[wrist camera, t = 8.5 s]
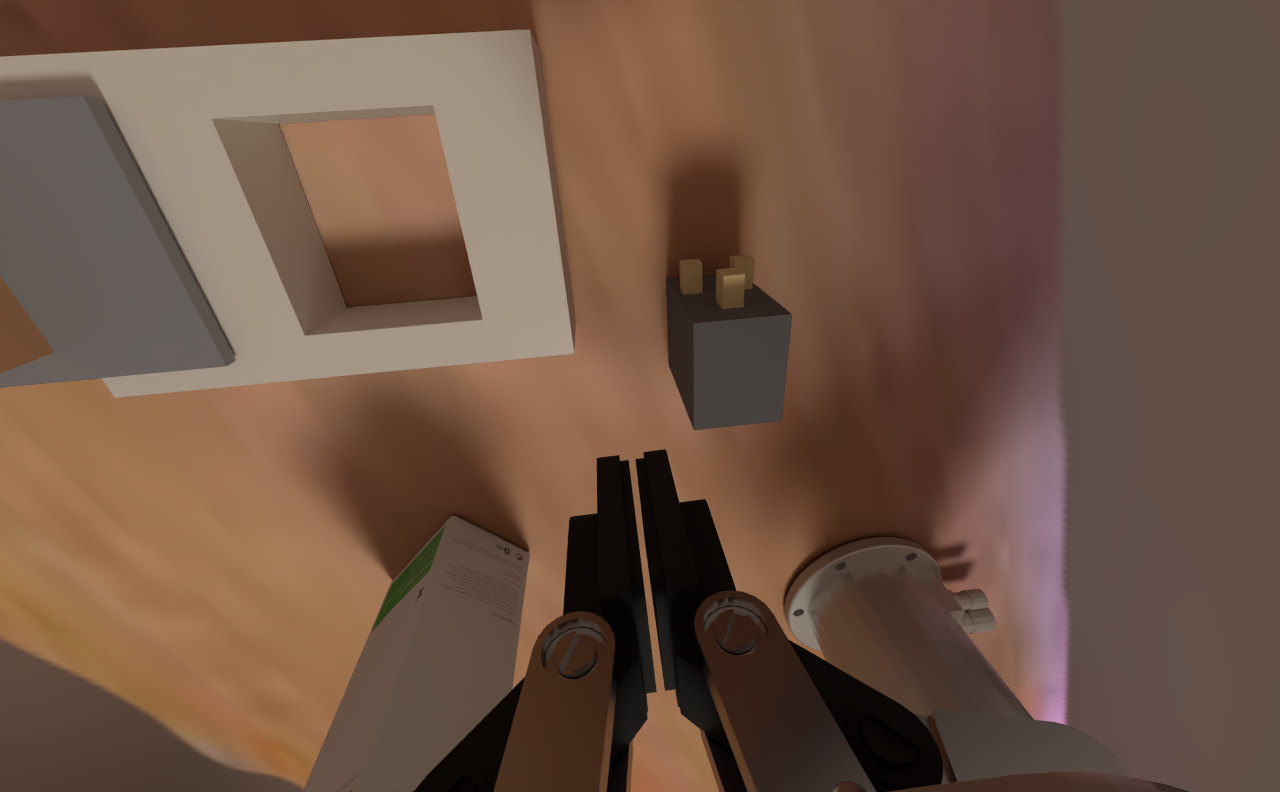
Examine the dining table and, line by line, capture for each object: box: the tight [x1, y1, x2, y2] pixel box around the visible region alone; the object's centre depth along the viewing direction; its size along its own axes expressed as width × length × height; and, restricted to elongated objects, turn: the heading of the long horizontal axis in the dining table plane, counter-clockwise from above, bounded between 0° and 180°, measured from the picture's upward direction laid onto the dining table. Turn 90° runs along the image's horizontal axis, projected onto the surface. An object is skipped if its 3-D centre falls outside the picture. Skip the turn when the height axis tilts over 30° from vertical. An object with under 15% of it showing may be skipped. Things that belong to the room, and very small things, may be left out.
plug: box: [666, 255, 792, 430], centre depth 22 cm, size 4×6×7 cm, turn 3°
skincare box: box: [303, 516, 530, 792], centre depth 26 cm, size 8×7×16 cm
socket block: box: [0, 29, 576, 398], centre depth 20 cm, size 20×12×4 cm, turn 93°
